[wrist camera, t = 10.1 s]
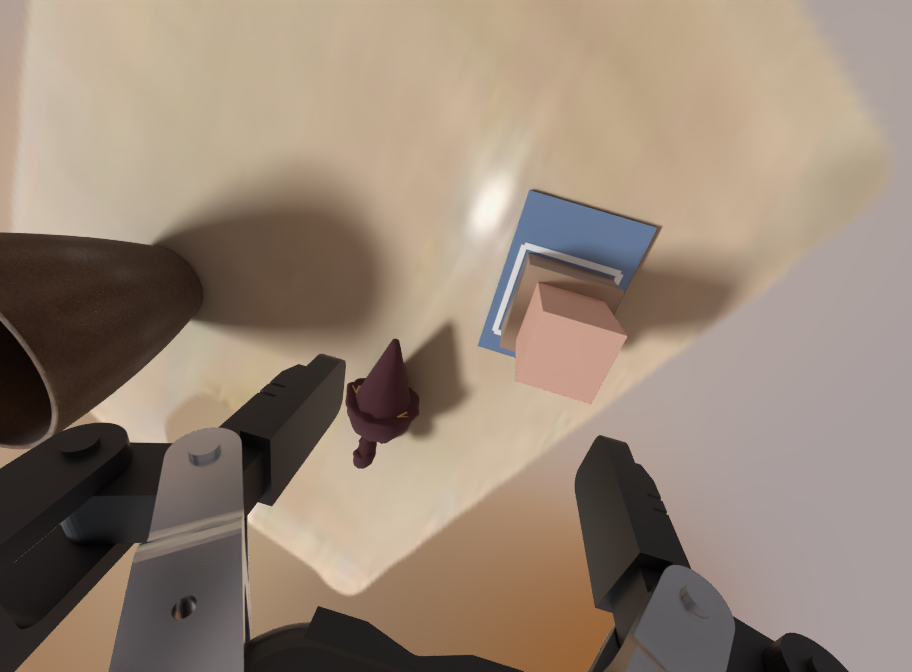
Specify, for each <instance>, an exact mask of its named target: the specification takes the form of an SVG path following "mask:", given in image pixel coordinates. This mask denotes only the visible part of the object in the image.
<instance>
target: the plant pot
mask: <svg viewBox="0 0 912 672" xmlns="http://www.w3.org/2000/svg"><path fill="white" fill-rule="evenodd" d="M201 303H202V289H201V285H200V282H199V280H198V278H197V276H196V274H195V273H194V271H193V270H192V268H191V267H190V266H189V265H188V264H187V263H186V262H185V261H184V260H183V259H182V258H181V257H180V256H178V255H177V254H175V253H174V252H172V251H170V250H168V249H165V248H162V247H157V246H151V245H145V244H139V243H132V242H125V241H117V240H109V239H100V238H90V237H77V236H65V235H47V234H28V233H0V447H2V448H9V449H30V448H34V447H35V446H37V445H39V444H40V443H42V442H43V441H45V440H46V439H48V438H50V437H52V436H53V435H55V434H57V433H60V432H61V431H63V430H64V429H65V428H66V427H68V426H69V425H71V424H72V423H74V422H75V421H77V420H78V419H79V418H81V417H82V416H83V415H85V414H86V413H88V412H89V411H90V410H92V409H93V408H94V407H96V406H97V405H98V404H100V403H101V402H102V401H104V400H105V399H106V398H107V397H109V396H110V395H111V394H113V393H114V392H115V391H116V390H117V389H119V388H120V387H121V386H122V385H124V384H125V383H126V382H127V381H128V380H130V379H131V378H132V377H133V376H134V375H136V374H137V373H138V372H139V371H140V370H141V369H142V368H143V367H145V366H146V365H147V364H148V363H149V362H150V361H151V360H152V359H153V358H154V357H155V356H156V355H158V354H159V353H160V352H161V351H162V350H163V349H164V348H165V347H166V346H167V345H168V344H169V343H170V342H171V341H172V340H173V339H174V338H175V336H176V335H177V334H178V333H179V332H180V331H181V330H182V329H183V328H184V326H185V325H186V324H187V323H188V322H189V321H190V319H191V318H192V317H193V316H194V314H195V313H196V312H197V311H198V309H199V308H200V306H201Z"/></svg>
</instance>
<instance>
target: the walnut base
mask: <svg viewBox="0 0 912 672" xmlns="http://www.w3.org/2000/svg"><path fill="white" fill-rule="evenodd" d="M538 282H540V283H543V284H546V285H550V286H553V287H557V288H560V289H563V290H567V291H570V292H574V293H577V294H580V295H584V296H587V297H591V298H594V299H597V300H601V301H604V302H605V303H606V305H607V306H608V307H609V309H610V310H611V312H612V313H613V315H614V313H615V311H616V309H617V307H618V305H619V303H620V301H621V299H622V297H623V295H624V292H623V291H622V290H621V288H620V287H619V286H618V285H617V284H616V283H615V282H614V280H613V279H612V278H610V277H607V276H603V275H600V274H597V273H593V272H590V271H587V270H583V269H580V268H577V267H573V266H570V265H567V264H563V263H560V262H557V261H554V260H550V259H547V258H544V257H540V256H537V255H534V254H530V253H528V255H527V258H526V261H525V264H524V266H523V269H522V272H521V275H520V278H519V280H518V283H517V286H516V289H515V291H514V294H513V297H512V300H511V303H510V305H509V308H508V311H507V314H506V317H505V319H504V322H503V325H502V329H501V338H500V347H501V348H504V349H507V350H511V351H514V352H516V339H517V336H518V334H519V331H520V328H521V325H522V323H523V320H524V317H525V315H526V312H527V309H528V307H529V304H530V301H531V299H532V296H533V293H534V291H535V288H536V285H537V283H538Z"/></svg>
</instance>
